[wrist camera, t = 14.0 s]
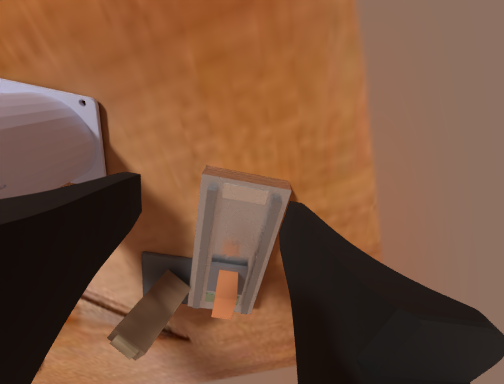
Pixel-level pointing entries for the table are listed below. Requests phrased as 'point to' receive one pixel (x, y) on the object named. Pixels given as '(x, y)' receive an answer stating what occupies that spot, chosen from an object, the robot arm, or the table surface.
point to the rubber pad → (164, 269)
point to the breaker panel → (235, 230)
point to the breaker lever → (226, 287)
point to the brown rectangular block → (149, 316)
